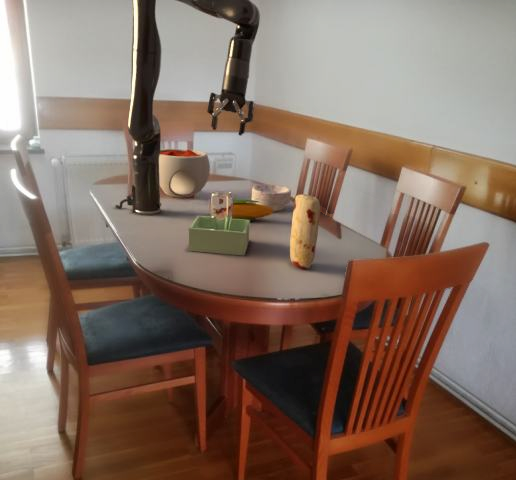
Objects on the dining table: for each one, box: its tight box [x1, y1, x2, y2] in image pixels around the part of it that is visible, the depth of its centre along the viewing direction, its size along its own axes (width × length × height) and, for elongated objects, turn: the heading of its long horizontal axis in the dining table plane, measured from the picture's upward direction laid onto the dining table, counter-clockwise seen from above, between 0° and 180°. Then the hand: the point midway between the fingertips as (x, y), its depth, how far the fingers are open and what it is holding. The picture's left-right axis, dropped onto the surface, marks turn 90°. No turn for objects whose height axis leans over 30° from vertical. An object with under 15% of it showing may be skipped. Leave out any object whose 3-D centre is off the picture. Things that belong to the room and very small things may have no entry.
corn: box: [232, 199, 274, 222], centre depth 187 cm, size 7×8×20 cm
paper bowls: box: [251, 184, 292, 212], centre depth 205 cm, size 15×15×8 cm
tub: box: [188, 215, 251, 256], centre depth 159 cm, size 17×15×7 cm
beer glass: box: [209, 190, 234, 231], centre depth 157 cm, size 7×7×15 cm
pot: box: [159, 148, 211, 199], centre depth 212 cm, size 24×24×18 cm
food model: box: [289, 193, 321, 270], centre depth 144 cm, size 10×7×20 cm
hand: (227, 132), depth 166 cm, fingers open, 8 cm apart
